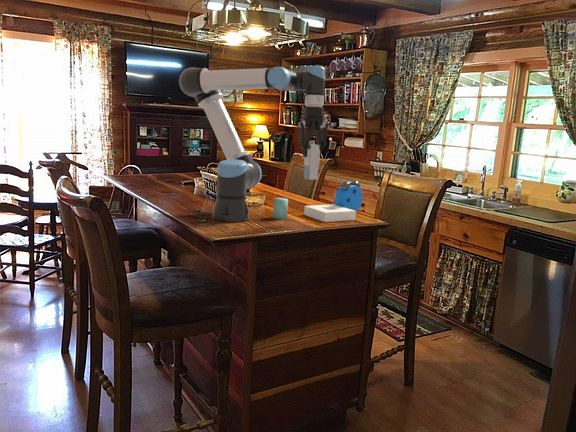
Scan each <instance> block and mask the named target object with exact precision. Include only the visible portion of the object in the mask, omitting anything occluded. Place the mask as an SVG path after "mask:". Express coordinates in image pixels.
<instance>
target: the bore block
mask: <svg viewBox="0 0 576 432" xmlns="http://www.w3.org/2000/svg"><path fill="white" fill-rule="evenodd" d="M303 211H304V212H303V215H304V216H306V217H310V218H312V219H315V220H317V221H321V222H323V223H330V222H331V223H332V222H334V223H335V222H345V221H346V222H348V221H356V218H357V217H356V215H357V212H356V211H354V210H351V209H348V208H344V207H341V206H338V205H335V204H316V205H304V210H303Z"/></svg>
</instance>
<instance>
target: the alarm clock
mask: <svg viewBox="0 0 576 432" xmlns="http://www.w3.org/2000/svg"><path fill="white" fill-rule="evenodd" d="M363 199H364V197H363V192H362V189H361V183H360V182H359V181H358V180H351V181H350V182H349V181H347V180H345V181H341V182H340V185H339V187H338V189H337V191H336V192H335V195H334V205H338V206H341V207H344V208H348V209H351V210H354V211H356V213H357V212H358V211H359V210H360V208H361V207H362V204H363Z"/></svg>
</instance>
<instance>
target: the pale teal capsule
mask: <svg viewBox="0 0 576 432" xmlns="http://www.w3.org/2000/svg"><path fill="white" fill-rule="evenodd" d="M288 207H289V199H288V198H285V197H274V198H273V209H272V210H273V211H272V213H273V214H272V218H273V219H275V220H287V219H288V210H289V209H288Z"/></svg>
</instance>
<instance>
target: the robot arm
mask: <svg viewBox="0 0 576 432" xmlns="http://www.w3.org/2000/svg"><path fill="white" fill-rule="evenodd" d="M178 85H179V87H180V90H181V91H182V92H183V93H184V94H185V95H187V96H188V97H192V98H193V97H194V100H195V101H196V104H197V106H198V107H199V108H202V109H203V111H204V113H205V114H206V118H207V119H208V121H209V123H210V126H211V128H212V130H213V132H214V134H215V137H216V140H217V141H218V143H219V146H220V147H221V150H222V152H223V154H224V157H225V158H226V159H223V160H221V161H219V163H217V169H216V174H217V175H216V176H217V178H216V179H217V180H216V181H217V182H216V200H215V203H214V205H213V208H212V212H211V218H212V219H213V220H215V221H219V222H230V223H232V222H233V223H235V222H236V223H237V222H245V221H248V220H250V212H249V211H250V210H249V208H248V204H247V199H246V198H247V197H246V195H247V190H249V189H252V188H255V186H257V185H258V184H259V183H260V181H261V179H262V177H263V176H262V175H263V174H262V168H261V167H260V165H259V163H257V162H256V161H254V159H253V157H252V154H251V153H250V152H247V151H246V150H245V148H244V146H243V143H242V141H241V139H240V137H239V135H238V133H237V130H236V129H235V126H234V124H233V121H232V119H231V117H230V115H229V112H228V111H227V108H226V106H225V104H224V102H223V97H224V94H223V91H230V90H231V91H232V90H235V91H236V90H239V91H240V90H260V89H261V90H263V89H265V90H266V89H268V90H269V89H270V90H271V89H272V90H274V89H276V90H278V91H281V92H282V91H283V92H289V91H290V92H292V91H293V92H295V91H297V92H300V91H301V92H304V93H305V97H304V106H305V107H304V119H303V121H300V122H299V121H298V122H297V126H298V147H299V148H301V149H302V157H303V158H304V161H303V162H304V163H303V165H304V166H305V165H307V166H309V154H310V149H308V147H309V144H310V143H311V142H310V141H311V136H312V133H314V138H315V144H316V145H319V158H321V157H322V150H323V149H325V148H326V147H327V137H328V129H329V126H330V124H329V123H328V122H325V121H324V118H323V117H324V110H325V108H324V107H323V106H324V104H325V86H326V68H325V67H323V66H322V65H321V66H320V65H308V66H307V67H306V69H305V71H296V70H295V71H293V70H290V69H288V68H286V67H283V66H274V67H270V68H269V67H267V68H266V67H264V68H242V69H241V68H239V69H238V68H237V69H217V70H215V69H214V70H212V69H211V70H209V69H208V68H206V67H194V66H192V67H188V68H185V69H184V70H183V71H182V72H181V74H180V75H179V79H178ZM319 166H320V162H319V163H318V167H319Z"/></svg>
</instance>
